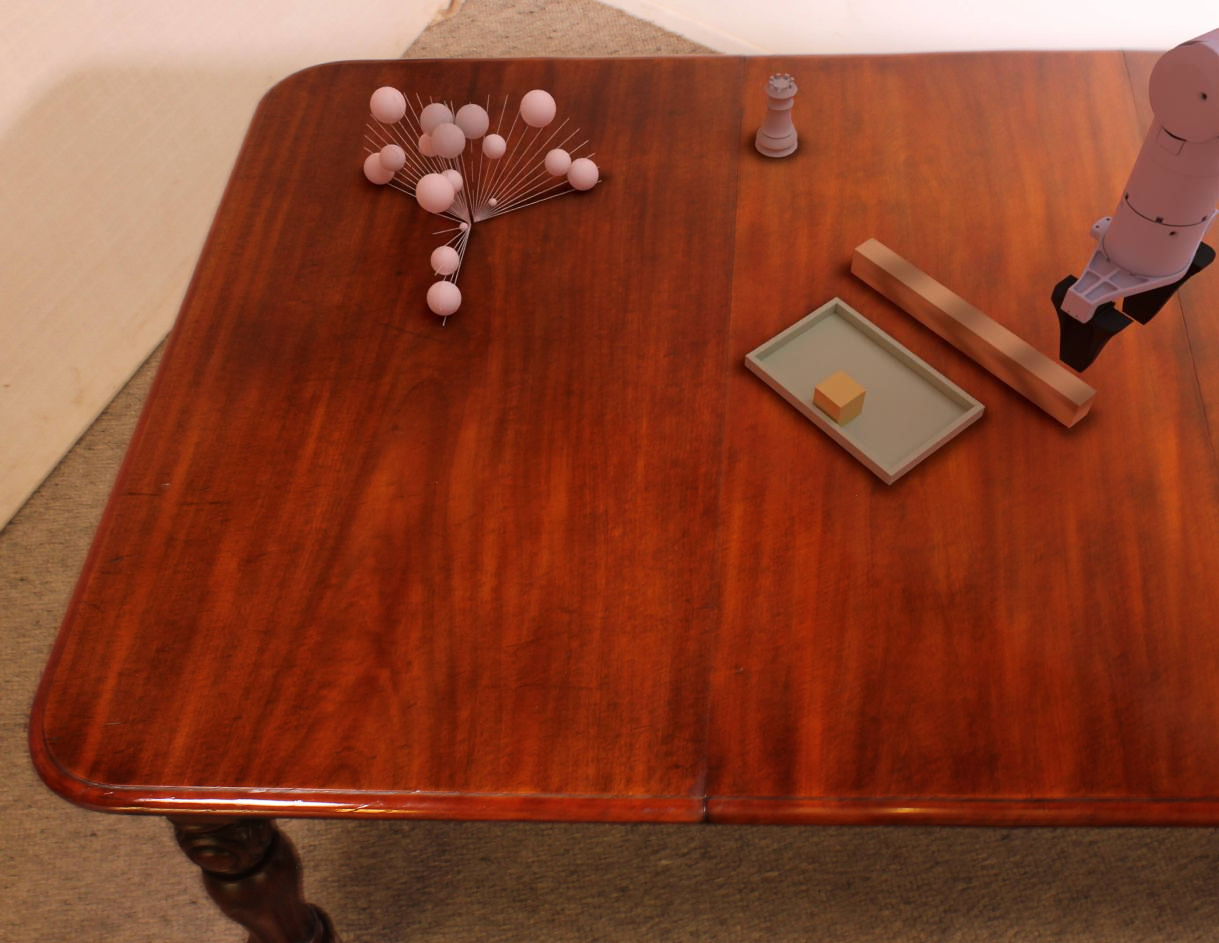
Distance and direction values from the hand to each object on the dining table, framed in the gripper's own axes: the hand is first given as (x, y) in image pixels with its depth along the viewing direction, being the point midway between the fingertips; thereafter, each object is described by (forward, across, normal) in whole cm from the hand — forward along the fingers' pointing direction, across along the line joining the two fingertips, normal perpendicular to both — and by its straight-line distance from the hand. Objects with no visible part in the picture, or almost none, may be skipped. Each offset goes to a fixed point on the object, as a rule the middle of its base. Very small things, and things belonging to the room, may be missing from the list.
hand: (1104, 339), depth 83 cm
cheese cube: (+9, +14, -13) cm, 21 cm away
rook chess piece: (+10, -7, -43) cm, 44 cm away
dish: (+9, +11, -13) cm, 20 cm away
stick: (+9, 0, -12) cm, 15 cm away
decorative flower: (+10, +27, -52) cm, 59 cm away
